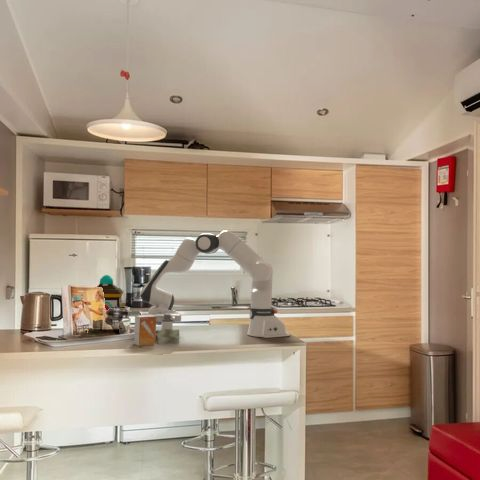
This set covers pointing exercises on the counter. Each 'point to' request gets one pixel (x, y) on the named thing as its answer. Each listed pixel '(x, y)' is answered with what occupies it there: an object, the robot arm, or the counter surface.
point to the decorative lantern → (111, 292)
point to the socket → (167, 336)
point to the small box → (145, 330)
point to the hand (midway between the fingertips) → (163, 319)
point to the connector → (167, 322)
